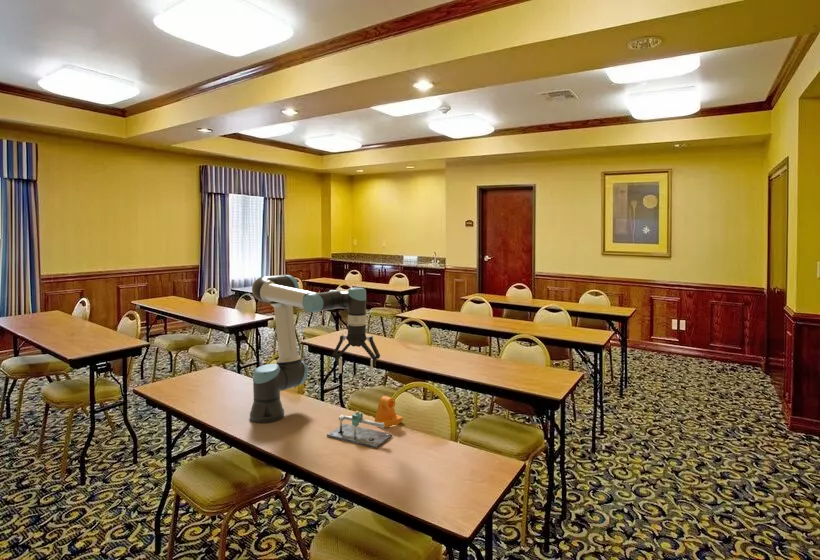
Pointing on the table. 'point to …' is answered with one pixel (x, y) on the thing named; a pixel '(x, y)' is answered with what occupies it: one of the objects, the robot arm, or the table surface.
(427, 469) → the table surface
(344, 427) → the bolt plate
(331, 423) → the table surface
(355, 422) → the sliding leg
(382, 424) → the dividers bar
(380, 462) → the table surface
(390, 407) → the bracket
